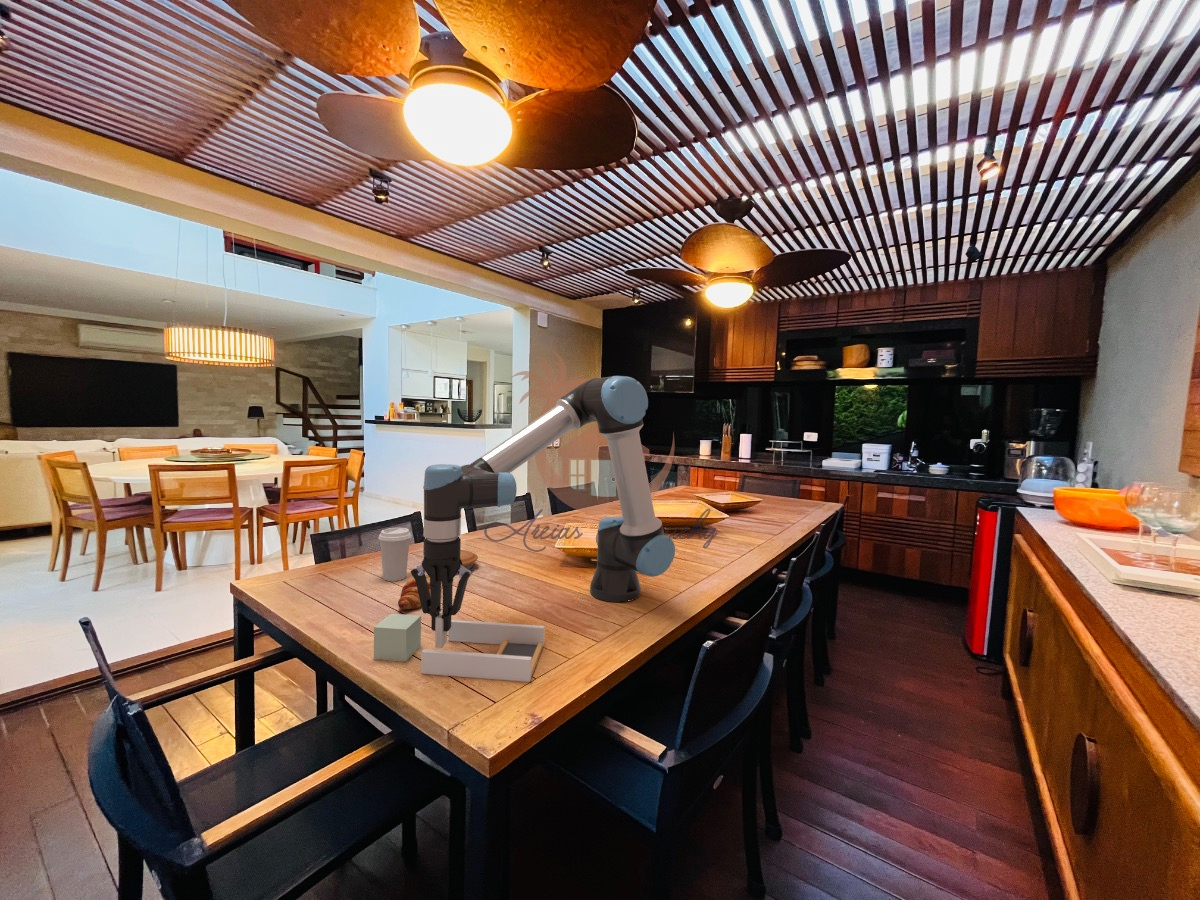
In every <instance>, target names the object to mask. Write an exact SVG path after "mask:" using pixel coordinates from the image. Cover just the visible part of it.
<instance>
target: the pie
mask: <svg viewBox="0 0 1200 900" xmlns="http://www.w3.org/2000/svg"><path fill="white" fill-rule="evenodd" d="M478 558H479V556H478V555H477V554H476V553H474V552H472V551H469V550H466V549H461V552H460V559H461V561H462V566H464V567H465V568H466V569H471V568H472V567H473V565H474V564H475V563H476V562H477V560H478ZM458 572H459V571H458Z"/></svg>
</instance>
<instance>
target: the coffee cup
mask: <svg viewBox="0 0 1200 900" xmlns="http://www.w3.org/2000/svg"><path fill="white" fill-rule="evenodd" d="M411 538H412V533H411V532H410V530H409V528H406V527H389V528H385V529H382V530H381V531H380V534H378V539H377V540H379V545H380V556H381V564H382V565H381V567H382V568H381V569H382V578H383V581H385V580H387V581H386V582H397V581H396V580H400V581H402V580H401V579H403V580H405V579H406V578H405V577H407V570H408V561H409V550H410V543H411V542H410V541H411ZM404 578H405V579H404Z"/></svg>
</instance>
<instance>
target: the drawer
mask: <svg viewBox="0 0 1200 900" xmlns="http://www.w3.org/2000/svg"><path fill="white" fill-rule="evenodd" d="M543 649H544V646H543V643H538V645H531V644H517V643H508V640H504V641H503V643H502V644H500V646H499V648H498V650H497V652H496V653H495V654H499V655H512V656H526V657H532V658H531V678H532V677H533V675H532V674H534V672H535V669H536V666H537V664H538V663H539V662H538V661H539V659H540V657H541V653H542V652H543ZM541 651H542V652H541Z"/></svg>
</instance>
